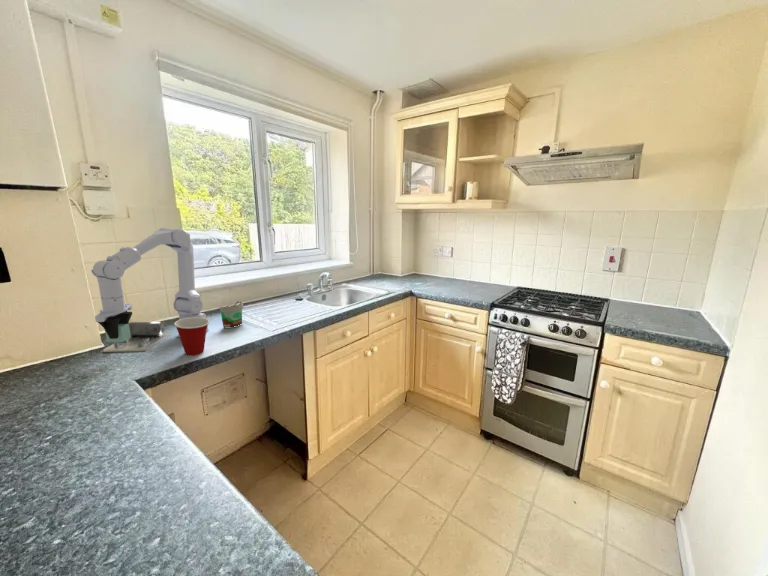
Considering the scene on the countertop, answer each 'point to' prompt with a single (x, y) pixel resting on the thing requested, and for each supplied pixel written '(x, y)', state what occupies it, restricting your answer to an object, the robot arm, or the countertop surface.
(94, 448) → the countertop surface
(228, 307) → the food container
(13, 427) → the countertop surface
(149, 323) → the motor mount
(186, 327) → the plastic cup
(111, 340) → the pump block
